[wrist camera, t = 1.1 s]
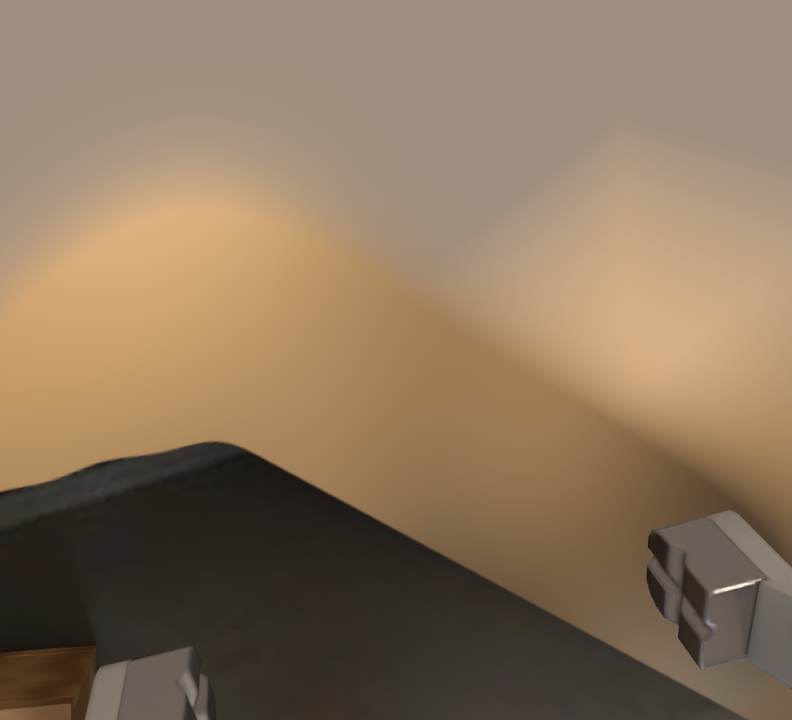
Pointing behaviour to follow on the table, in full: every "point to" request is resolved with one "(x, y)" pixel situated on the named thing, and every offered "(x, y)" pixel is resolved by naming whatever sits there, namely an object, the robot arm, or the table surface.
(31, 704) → the cabinet
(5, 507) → the table surface
